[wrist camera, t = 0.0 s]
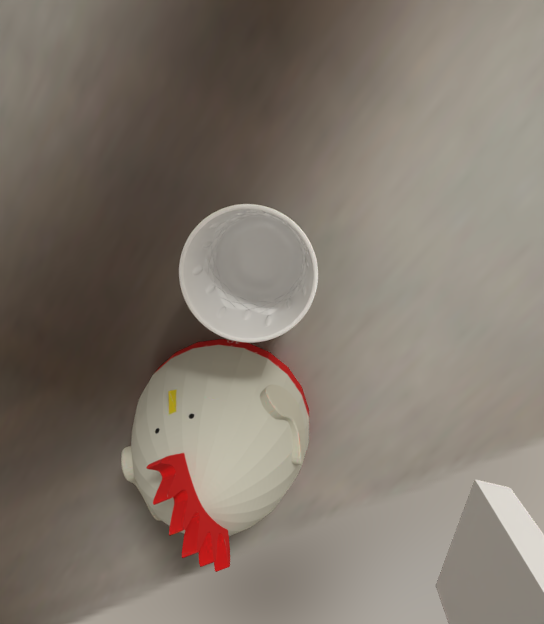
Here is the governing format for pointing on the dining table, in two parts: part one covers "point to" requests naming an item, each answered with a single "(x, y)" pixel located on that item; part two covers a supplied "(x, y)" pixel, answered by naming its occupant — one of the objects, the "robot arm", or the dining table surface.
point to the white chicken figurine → (217, 443)
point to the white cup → (248, 273)
